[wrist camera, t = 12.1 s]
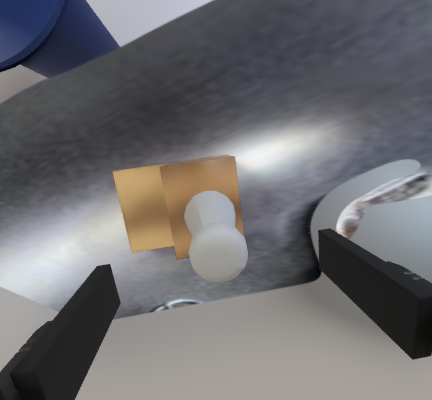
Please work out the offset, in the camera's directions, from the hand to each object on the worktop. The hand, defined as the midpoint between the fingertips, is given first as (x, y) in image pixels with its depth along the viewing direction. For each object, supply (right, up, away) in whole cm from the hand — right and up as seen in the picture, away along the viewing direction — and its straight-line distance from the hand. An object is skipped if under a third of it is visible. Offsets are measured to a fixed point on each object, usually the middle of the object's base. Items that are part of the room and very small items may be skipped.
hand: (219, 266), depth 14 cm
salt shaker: (-1, +3, +14) cm, 14 cm away
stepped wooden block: (-6, +4, +21) cm, 23 cm away
